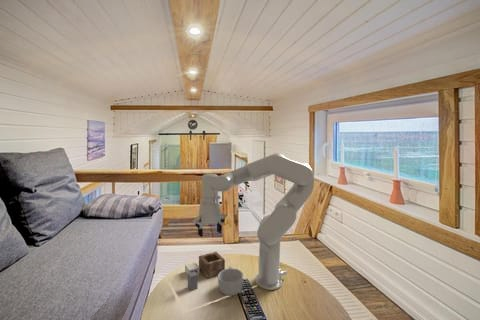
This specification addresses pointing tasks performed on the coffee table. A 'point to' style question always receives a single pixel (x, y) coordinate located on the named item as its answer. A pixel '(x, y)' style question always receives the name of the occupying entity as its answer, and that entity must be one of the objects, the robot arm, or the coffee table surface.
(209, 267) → the brown wooden box
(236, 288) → the teacup
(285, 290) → the coffee table surface
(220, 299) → the coffee table surface
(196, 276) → the lid
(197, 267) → the matte white cube
